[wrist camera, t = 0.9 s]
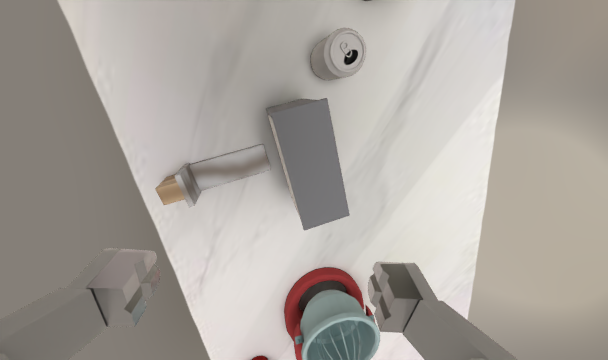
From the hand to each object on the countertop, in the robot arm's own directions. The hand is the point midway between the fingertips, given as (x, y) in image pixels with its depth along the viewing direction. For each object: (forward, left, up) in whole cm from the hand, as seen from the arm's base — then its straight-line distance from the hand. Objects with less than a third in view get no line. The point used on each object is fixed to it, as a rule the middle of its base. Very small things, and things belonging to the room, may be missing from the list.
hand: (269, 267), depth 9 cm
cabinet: (+7, +8, -46) cm, 47 cm away
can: (-9, +19, -46) cm, 51 cm away
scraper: (+7, -10, -46) cm, 48 cm away
